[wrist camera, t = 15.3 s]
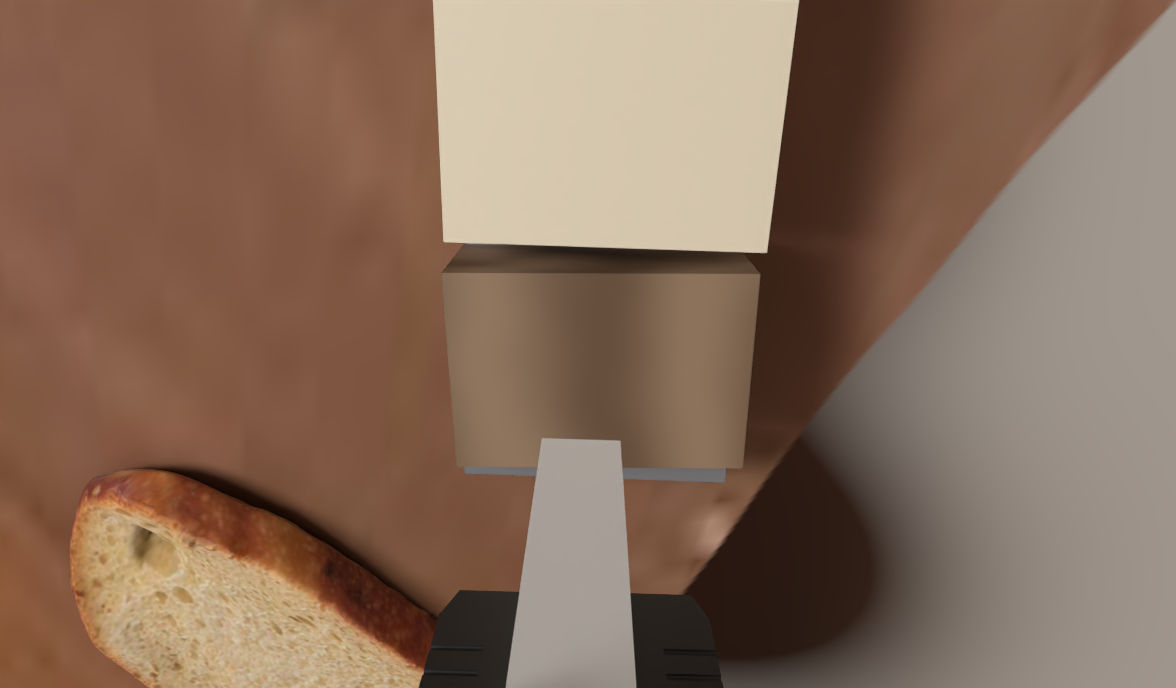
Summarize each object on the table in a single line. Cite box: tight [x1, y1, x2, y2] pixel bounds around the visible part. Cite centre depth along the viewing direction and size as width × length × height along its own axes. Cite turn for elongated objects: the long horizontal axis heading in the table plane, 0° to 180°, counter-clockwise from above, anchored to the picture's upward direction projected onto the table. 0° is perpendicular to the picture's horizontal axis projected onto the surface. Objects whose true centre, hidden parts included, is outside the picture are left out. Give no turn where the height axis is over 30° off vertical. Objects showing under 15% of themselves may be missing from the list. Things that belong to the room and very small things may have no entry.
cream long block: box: [433, 0, 799, 482], centre depth 23 cm, size 10×24×5 cm, turn 178°
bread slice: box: [69, 469, 438, 688], centre depth 32 cm, size 18×18×4 cm
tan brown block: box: [441, 244, 760, 469], centre depth 25 cm, size 10×7×4 cm
